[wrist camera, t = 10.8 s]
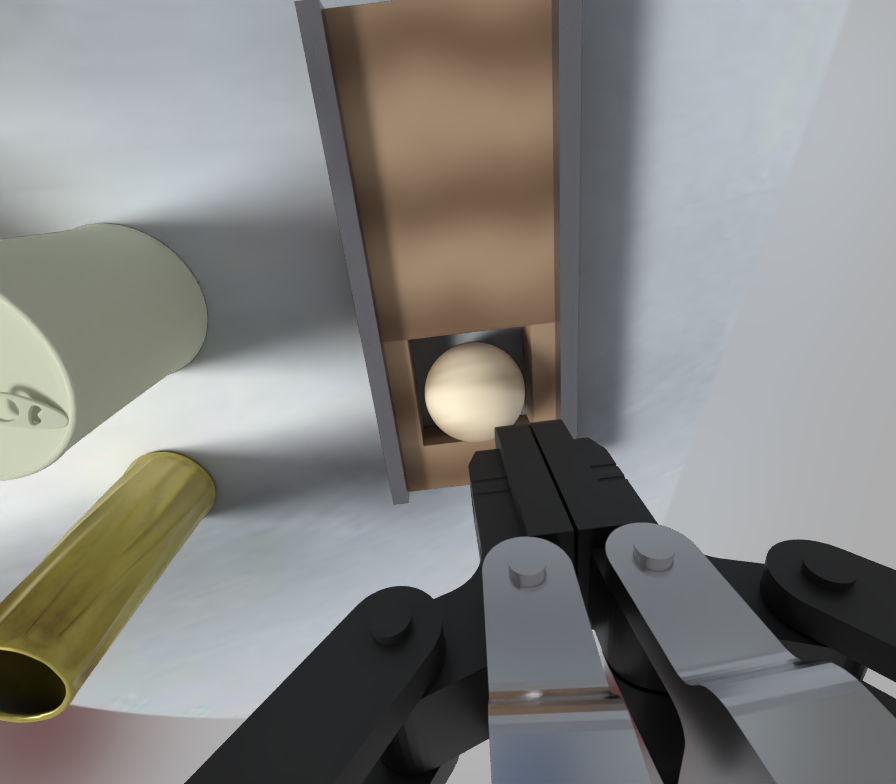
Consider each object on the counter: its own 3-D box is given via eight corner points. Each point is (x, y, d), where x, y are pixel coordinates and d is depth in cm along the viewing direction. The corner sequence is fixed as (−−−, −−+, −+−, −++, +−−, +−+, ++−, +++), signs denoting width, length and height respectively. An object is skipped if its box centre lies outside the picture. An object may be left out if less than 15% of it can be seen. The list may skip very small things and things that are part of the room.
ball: (433, 447, 30) (420, 358, 30) (522, 433, 30) (508, 345, 31) (431, 452, 24) (415, 340, 24) (543, 434, 24) (524, 324, 25)
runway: (314, 29, 22) (294, 1, 19) (558, 0, 22) (582, -34, 19) (396, 472, 33) (393, 504, 30) (561, 452, 33) (576, 482, 30)
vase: (221, 461, 32) (82, 650, 19) (213, 527, 34) (84, 737, 21) (128, 441, 31) (-87, 626, 18) (126, 511, 33) (-65, 720, 20)
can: (189, 397, 30) (53, 519, 19) (34, 341, 28) (-217, 441, 17) (225, 267, 27) (87, 323, 16) (53, 193, 25) (-244, 198, 14)
